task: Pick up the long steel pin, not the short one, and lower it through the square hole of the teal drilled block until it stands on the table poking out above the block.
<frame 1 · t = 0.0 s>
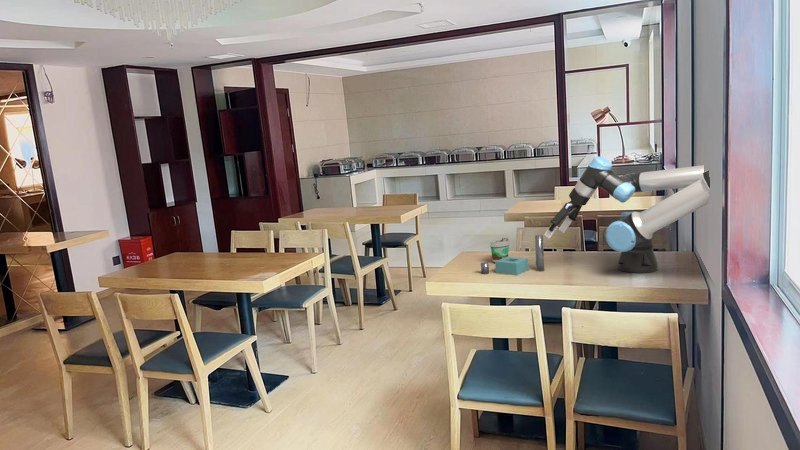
hand: (554, 233, 232), 15 cm above the table, tool tilted 35°, fingers open, 13 cm apart
short pin: (485, 273, 237), on the table
drilled block: (512, 271, 236), on the table
long pin: (540, 270, 234), on the table
food container: (503, 262, 256), on the table
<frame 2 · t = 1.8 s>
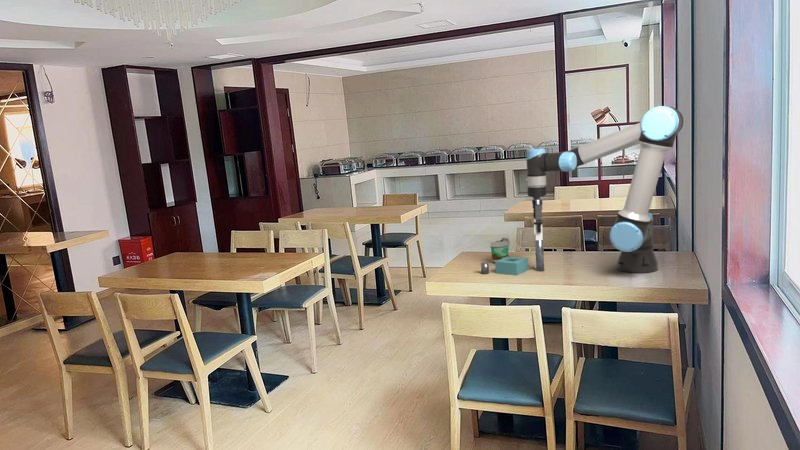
hand: (538, 237, 232), 14 cm above the table, tool pointing down, fingers open, 13 cm apart
nothing on the table moved.
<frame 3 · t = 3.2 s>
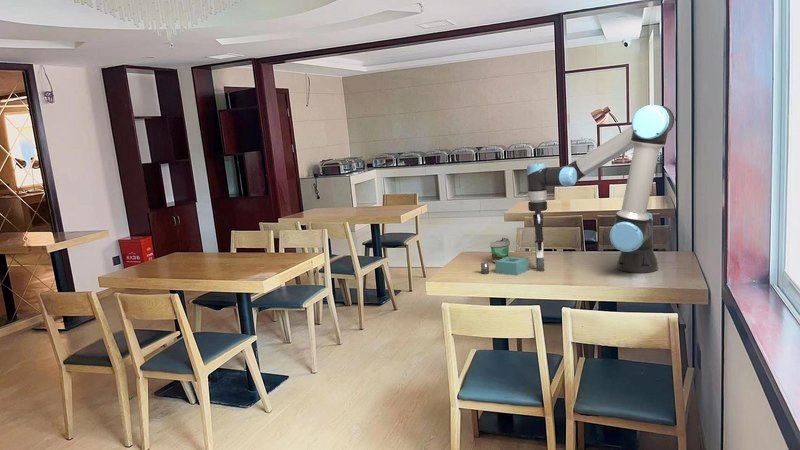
hand: (539, 256, 234), 6 cm above the table, tool pointing down, fingers closed on long pin, 3 cm apart
long pin: (540, 270, 234), on the table, touching gripper
everything else where it was.
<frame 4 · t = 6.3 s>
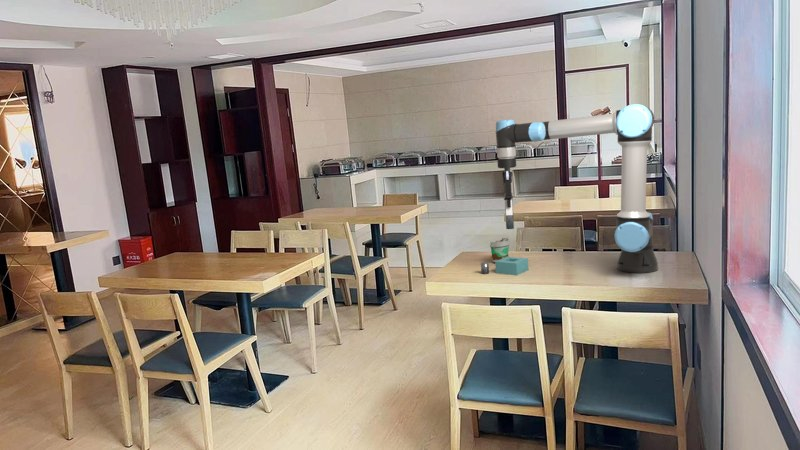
hand: (509, 214, 233), 25 cm above the table, tool pointing down, fingers closed on long pin, 3 cm apart
long pin: (510, 228, 234), point 19 cm above the table, touching gripper
everything else where it was.
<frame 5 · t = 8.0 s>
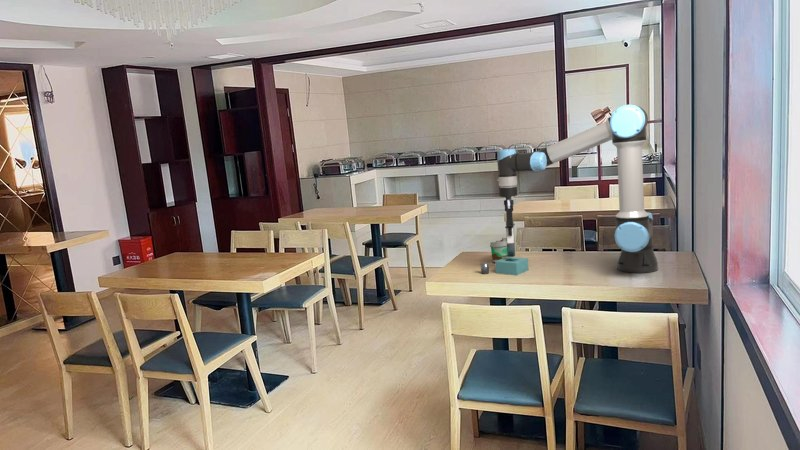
hand: (510, 242, 235), 13 cm above the table, tool pointing down, fingers closed on long pin, 3 cm apart
long pin: (511, 256, 236), point 7 cm above the table, touching gripper
everything else where it was.
when the fingers open (8 cm above the table, at t = 9.4 s): long pin drops 2 cm, resting in drilled block.
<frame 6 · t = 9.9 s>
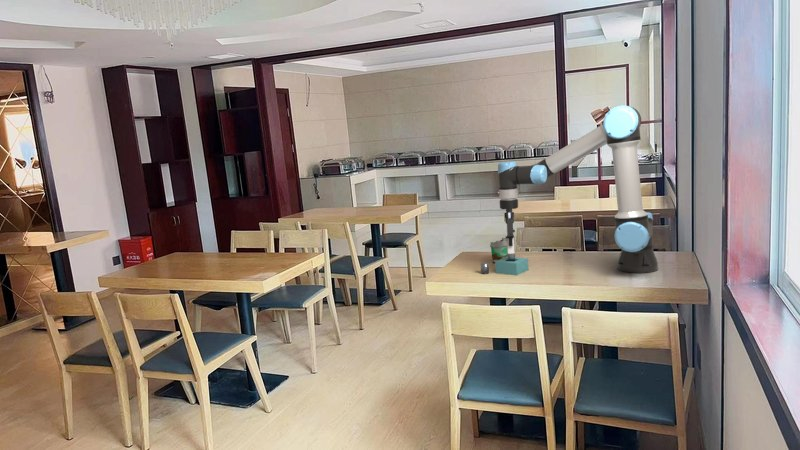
hand: (511, 250, 235), 9 cm above the table, tool pointing down, fingers open, 11 cm apart
long pin: (512, 271, 236), resting in drilled block
everything else where it was.
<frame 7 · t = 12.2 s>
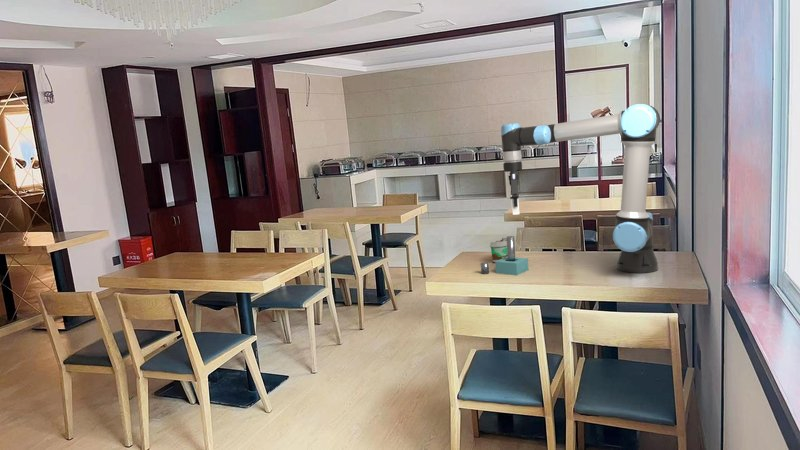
hand: (515, 212, 233), 25 cm above the table, tool pointing down, fingers open, 13 cm apart
nothing on the table moved.
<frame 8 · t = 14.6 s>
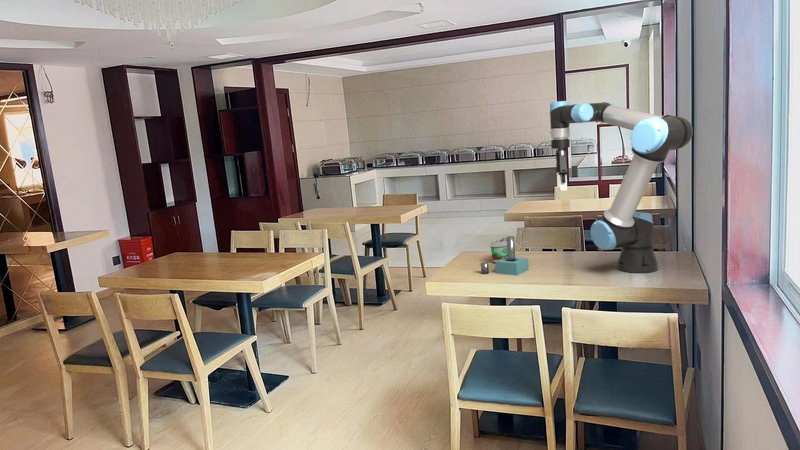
hand: (562, 188, 238), 33 cm above the table, tool pointing down, fingers open, 13 cm apart
nothing on the table moved.
at the end: long pin 0.0 cm off-centre on the drilled block, point 0.0 cm above the drilled block's base; long pin tilted 0°; short pin moved 0.0 cm from its start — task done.
